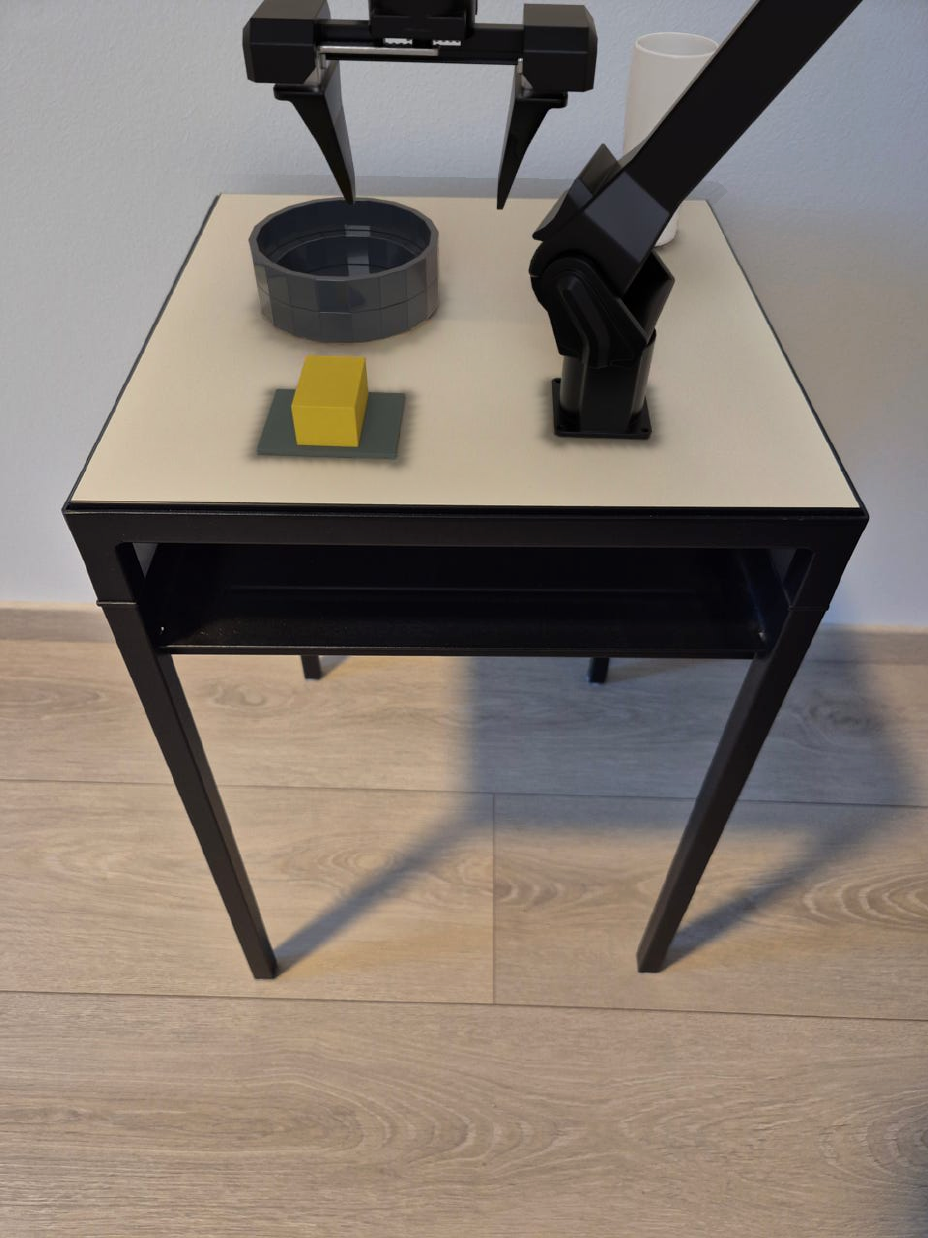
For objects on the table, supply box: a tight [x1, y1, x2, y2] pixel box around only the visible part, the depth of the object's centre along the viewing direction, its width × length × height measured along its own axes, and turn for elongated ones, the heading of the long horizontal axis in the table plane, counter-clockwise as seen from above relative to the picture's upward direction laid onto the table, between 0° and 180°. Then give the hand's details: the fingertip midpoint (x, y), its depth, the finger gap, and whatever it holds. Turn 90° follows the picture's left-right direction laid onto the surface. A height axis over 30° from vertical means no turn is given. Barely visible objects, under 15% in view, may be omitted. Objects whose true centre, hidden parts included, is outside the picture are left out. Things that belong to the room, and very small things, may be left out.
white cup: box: [621, 31, 720, 247], centre depth 73 cm, size 7×7×15 cm
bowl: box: [247, 196, 441, 344], centre depth 67 cm, size 14×14×6 cm
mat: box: [256, 388, 406, 460], centre depth 58 cm, size 7×9×1 cm
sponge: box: [291, 354, 369, 447], centre depth 57 cm, size 6×4×3 cm, turn 178°
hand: (425, 204), depth 54 cm, fingers open, 9 cm apart
